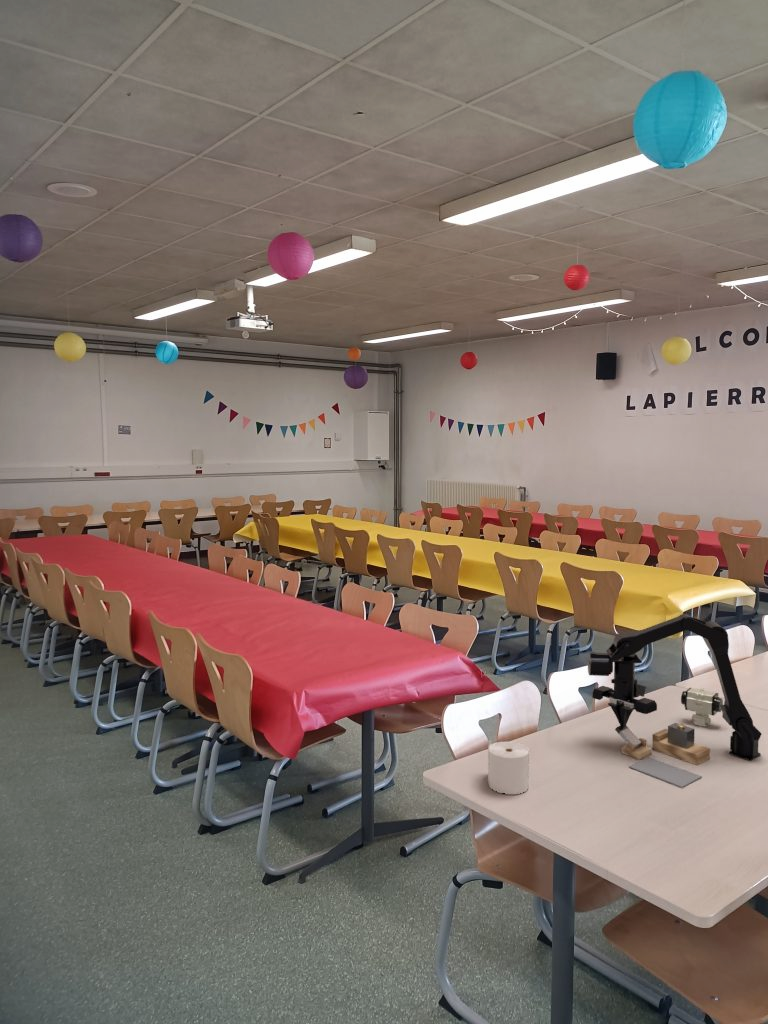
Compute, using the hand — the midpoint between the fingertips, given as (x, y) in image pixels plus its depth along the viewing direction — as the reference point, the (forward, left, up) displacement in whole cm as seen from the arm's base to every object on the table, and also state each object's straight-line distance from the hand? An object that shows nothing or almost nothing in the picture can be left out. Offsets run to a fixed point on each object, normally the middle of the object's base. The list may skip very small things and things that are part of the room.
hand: (623, 727), depth 215 cm
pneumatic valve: (-5, -36, -7) cm, 37 cm away
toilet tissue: (+5, +45, -7) cm, 46 cm away
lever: (-5, 0, -4) cm, 6 cm away
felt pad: (-17, +5, -7) cm, 19 cm away
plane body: (-13, -10, -7) cm, 17 cm away
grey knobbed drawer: (-13, -10, -4) cm, 17 cm away
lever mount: (-5, 0, -7) cm, 8 cm away
